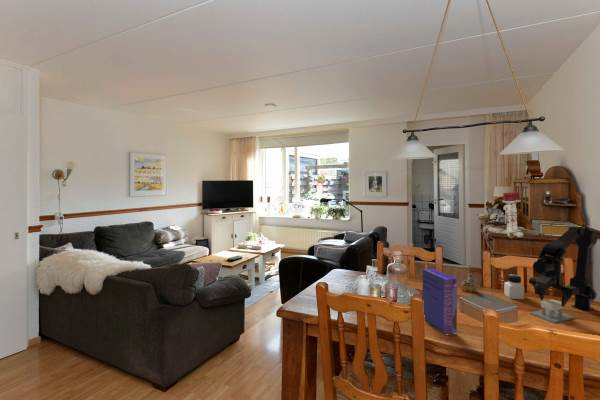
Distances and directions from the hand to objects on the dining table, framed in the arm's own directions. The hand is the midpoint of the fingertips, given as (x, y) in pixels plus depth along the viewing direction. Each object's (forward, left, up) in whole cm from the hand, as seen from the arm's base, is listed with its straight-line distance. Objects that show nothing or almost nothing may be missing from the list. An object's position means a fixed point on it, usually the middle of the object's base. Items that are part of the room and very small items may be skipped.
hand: (552, 303), depth 150 cm
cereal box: (+57, -11, -6) cm, 58 cm away
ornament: (+8, -40, -6) cm, 41 cm away
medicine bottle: (-7, -24, -6) cm, 26 cm away
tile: (0, 0, -6) cm, 6 cm away
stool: (0, 0, -6) cm, 6 cm away
